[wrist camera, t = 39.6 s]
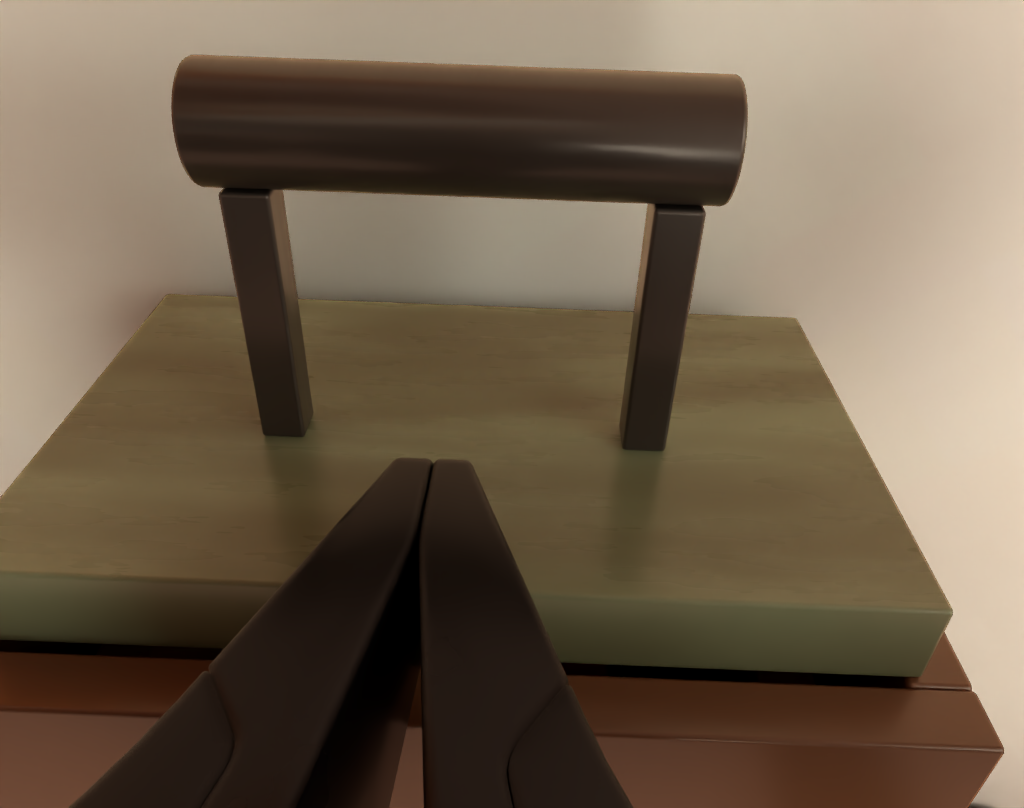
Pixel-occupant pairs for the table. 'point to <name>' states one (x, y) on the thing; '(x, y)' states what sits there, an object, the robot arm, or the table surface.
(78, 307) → the table surface
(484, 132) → the drawer
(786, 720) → the cabinet
